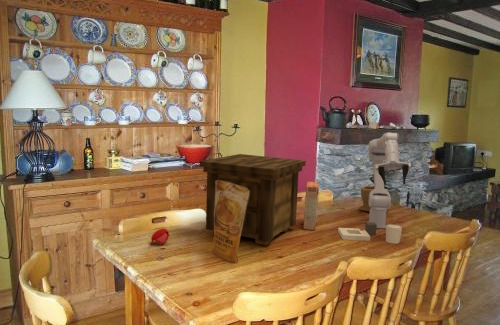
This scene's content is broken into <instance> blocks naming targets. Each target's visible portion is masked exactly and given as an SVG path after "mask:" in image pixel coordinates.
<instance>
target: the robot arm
mask: <svg viewBox="0 0 500 325" xmlns="http://www.w3.org/2000/svg"><path fill="white" fill-rule="evenodd" d="M399 144H400V134H399V132H390V131H389V132H385V133H383V134H382V136H381V137H380V138H375V139H372V140H370V141H369V142H368V158H369V159H370V160H371V161H372V165H373V166H372V168H373V186H374V190H372V191H371V192H370V193H369V206H370V207H371V209H370V212H369V216H368V222H374V223H375V224H376V225H377V229H386V225H387V224H386V221H387V220H386V218H387V213H386V211H387V210H388V209H389V210H390V208H391V205H392V198H391V194H390V192H389V191H388V190H387V189H385V186H386V185H387V182H386V175H385V170H389V171H390V170H391V171H394V170H399V169H402V170H401V171H402V183H403V184H402V185H406V179H407V176H408V173H409V169H410V170H411V169H412V162H405V161H400V151H399ZM384 161H385V162H384Z"/></svg>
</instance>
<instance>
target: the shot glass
mask: <svg viewBox="0 0 500 325" xmlns="http://www.w3.org/2000/svg"><path fill="white" fill-rule="evenodd" d="M385 225H386V228H385V241H386V242H387V243H389V244H396V245H397V244H400V240H401V235H402V231H403V230H402V229H403V226H401V225H399V224H393V223H392V224H391V223H389V224H388V223H387V224H385Z"/></svg>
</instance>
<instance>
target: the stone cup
mask: <svg viewBox="0 0 500 325" xmlns="http://www.w3.org/2000/svg"><path fill="white" fill-rule="evenodd" d="M372 190H374V185H363V186H362V187H361V188H360V196H361V199H362V202H363V203H362V205H361V206H359V210H360V211H363V212H369V213H370V209H371V207H370V206H369V193H370V192H371V191H372ZM389 211H390V208H389V209H388V210H387V211H386V214H387V213H388V212H389Z"/></svg>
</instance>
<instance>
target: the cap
mask: <svg viewBox="0 0 500 325" xmlns="http://www.w3.org/2000/svg"><path fill="white" fill-rule="evenodd" d="M169 237H170V232H169V230H168V229H167V228H160V229H158V230H156V231H154V233H153V234H152V236H151V237H150V238H151V241H150V245H152V244H153V243H154V242H156V243H158V244H161V245H162V246H165V245H166V242H167V241H168V238H169Z"/></svg>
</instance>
